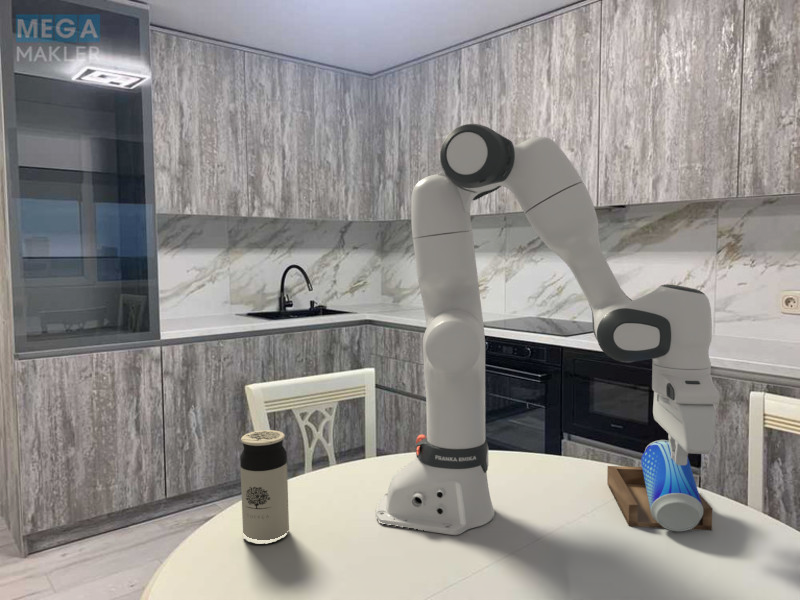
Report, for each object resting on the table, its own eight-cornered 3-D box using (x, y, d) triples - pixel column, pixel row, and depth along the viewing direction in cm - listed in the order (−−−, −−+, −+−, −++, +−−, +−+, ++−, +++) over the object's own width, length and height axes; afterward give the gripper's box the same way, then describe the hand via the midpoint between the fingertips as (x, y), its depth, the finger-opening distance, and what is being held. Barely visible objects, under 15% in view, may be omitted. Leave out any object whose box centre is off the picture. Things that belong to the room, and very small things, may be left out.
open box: (628, 526, 106) (629, 504, 106) (607, 484, 126) (607, 465, 125) (711, 530, 104) (712, 508, 104) (677, 487, 124) (677, 468, 123)
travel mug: (261, 522, 110) (257, 427, 109) (297, 529, 107) (294, 432, 106) (233, 541, 103) (229, 440, 102) (272, 549, 100) (268, 445, 99)
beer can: (709, 502, 99) (689, 438, 112) (655, 496, 100) (642, 434, 114) (700, 537, 102) (682, 471, 116) (649, 531, 104) (637, 466, 118)
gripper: (644, 369, 110) (643, 442, 111) (679, 395, 90) (677, 484, 91) (680, 369, 109) (679, 443, 110) (724, 396, 89) (721, 486, 90)
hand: (678, 462), depth 100 cm, fingers closed
